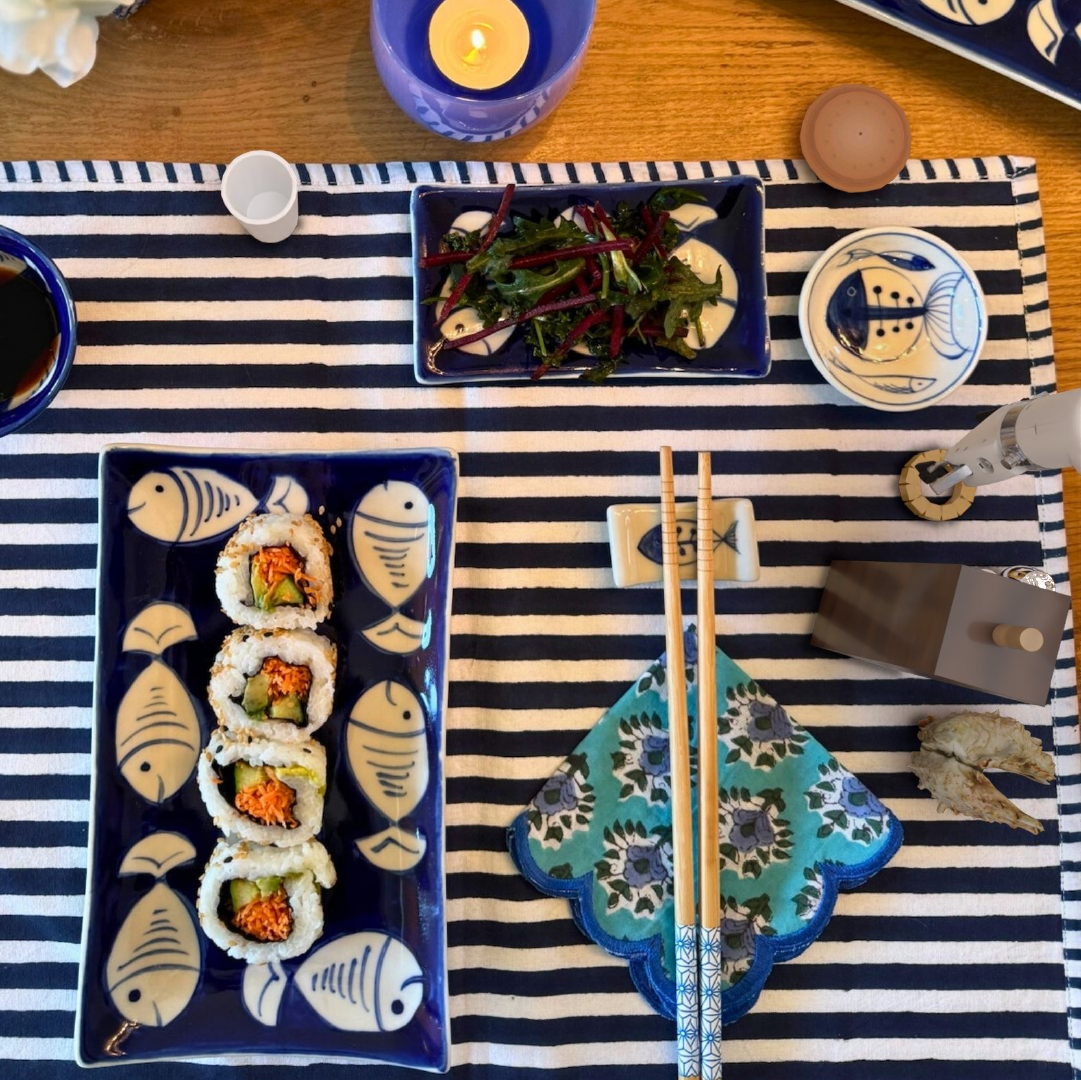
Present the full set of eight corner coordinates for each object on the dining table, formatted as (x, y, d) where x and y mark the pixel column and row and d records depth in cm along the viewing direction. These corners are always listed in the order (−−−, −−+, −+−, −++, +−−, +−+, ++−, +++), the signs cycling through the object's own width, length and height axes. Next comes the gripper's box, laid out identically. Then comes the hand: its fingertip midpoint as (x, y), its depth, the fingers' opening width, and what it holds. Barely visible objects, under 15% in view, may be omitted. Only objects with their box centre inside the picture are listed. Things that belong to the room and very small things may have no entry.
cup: (222, 215, 147) (204, 184, 134) (274, 169, 148) (261, 134, 135) (269, 266, 147) (256, 240, 134) (321, 220, 147) (313, 189, 134)
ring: (975, 462, 145) (983, 461, 143) (958, 528, 144) (966, 528, 142) (908, 442, 145) (916, 441, 143) (891, 508, 145) (898, 508, 143)
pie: (884, 213, 148) (901, 202, 143) (779, 183, 148) (791, 171, 143) (911, 112, 149) (928, 96, 144) (806, 82, 149) (820, 66, 144)
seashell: (1072, 865, 123) (1114, 749, 126) (933, 788, 124) (979, 676, 128) (985, 847, 140) (1025, 746, 144) (865, 780, 142) (907, 682, 145)
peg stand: (915, 584, 144) (1103, 599, 105) (893, 669, 143) (1075, 715, 104) (831, 560, 144) (988, 565, 105) (809, 644, 143) (959, 680, 104)
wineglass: (994, 613, 144) (1047, 619, 132) (957, 593, 144) (1006, 597, 132) (1013, 577, 144) (1068, 580, 132) (976, 556, 144) (1027, 557, 132)
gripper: (1001, 514, 108) (920, 518, 125) (1126, 410, 109) (1028, 428, 126) (954, 458, 108) (879, 470, 125) (1078, 354, 109) (987, 380, 126)
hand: (954, 449), depth 126 cm, fingers open, 9 cm apart
